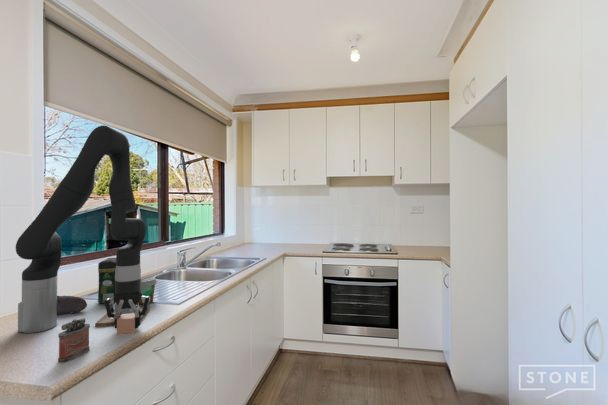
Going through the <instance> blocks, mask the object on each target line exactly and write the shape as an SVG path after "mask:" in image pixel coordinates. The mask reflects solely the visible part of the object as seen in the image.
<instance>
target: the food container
mask: <svg viewBox="0 0 608 405" xmlns="http://www.w3.org/2000/svg"><path fill="white" fill-rule="evenodd" d="M157 283H158V282H157V280H156V278H154V279H151V280H141V294H142V296H151V298H150V302H149V305H150V304H152V303H153V302H154V296H155V289H156V287H155V286H156V285H157ZM138 304H139V307H143V305H144V303H143V302H142V299H141V300H140V301H139V302H138Z"/></svg>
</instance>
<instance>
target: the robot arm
mask: <svg viewBox="0 0 608 405" xmlns="http://www.w3.org/2000/svg"><path fill="white" fill-rule="evenodd" d="M105 156H108V157H109V159H110V162H111V166H112V167H111V168H112V173H111V178H110V180H109V185H108V195H109V201H110V206H111V215H110V224H109V232H110V235H111V236H112V238H113V239H114V240H116V241H127V240H128V241H127V244H125V245H123V246H121V247H119V248H118V249H117V250H116V252H115V253H116V257H115V258H116V271H115V296H114V298H108V299H106V300H105V301H104V308H105V311H106V313H107V315H108V317H109V318H110V317H112V318H114V319H115V323H114V329H115V330H116V331H117V319H118V318H119V317H120V315H121V312H122V310H123V309H126V308H129V309H132V311H133V312H134V314H135V316H136V317H135V328H137V329H138V328H139V327H140V326H141V324H142V321H141V316H142V315H145V313H146V312H147V310H148V307H150V306H149V305H150V304H149V302H150V298H151V296H142V294H141V281H142V269H141V252H142V251H141V250H142V247H143V244H144V241H145V238H146V234H147V226H146V223H145V221H144V220H143V219H141V218H136V217H135V218H133V217H132V218H126V215H127V214H129V213H132V212H134V211H135V210H136V208H137V206H136V201H135V200H136V199H135V196H134V191H133V186H132V181H131V180H132V179H131V161H130V157H131V156H130V144H129V140H128V136H126V135H125V134H123V133H122V132H120V131H118V130H116V129H114V128H112V127H110V126H108V125H99V126H96V127H95V128H93V129H92V131H91V132H90V133H89V135H88V137H87V138H86V140H85V142H84V144H83V146H82V148H81V150H80V151H79V154H78V155H77V157H76V159H75V161H74V162H73V164H72V165H71V167H70V168H69V170H68V171H67V173H66V174H65V176H64V177H63V179H61V181H60V183H58V185H57V187H56V188H55V190H54V191H53V193H52V195H51V196H50V197H49V199H48V201H47V202H46V203H45V205H44V206H43V207H42V209H41V210H40V211H39V214H38V215H37V216H36V217H35V219H34V220H32V222H31V223H30V224H29V225H28V227H26V229H25V230H24V231H23V232H22V233H21V235H20V236H19V237H18V239H17V241H16V242H15V252H16V255H17V256H18V257H19V258H20V259H24V260H28V261H29V260H31V262H30V264H29V265H28V266H27V267H26V268H25V269H23V271H22V272H21V301H20V302H19V303H18V304H17V333H24V334H33V333H39V332H44V331H47V330H50V329H53V328H54V327H56V326H57V325H58V314H57V296H58V271H59V269H60V266H61V262H62V248H63V247H62V245H63V244H62V238H61V236H60V235H59V234H58V233H57V232H56V231H57V230H58V229H59V228H60V227H61V226H62V225H63V224H64V223H65V222H66V221H68V219H71V217H72V216H74V215H75V214H76V213H77V212H78V211H80V210H81V209H82V208H83V207H84V205H85V204H86V203H87V201H88V200H89V198H90V197H91V195H92V194H93V192H94V189H95V180H96V179H95V178H96V170H97V168H98V165H99V164H100V162H101V160H102V159H103V158H104V157H105ZM141 299H142V302H143V303H144V305H143V306H142V308H143V309H142V311H140V308H141V306H139V304H138V302H139V301H140V300H141ZM113 301H115V302H113ZM115 303H116V304H117V305H118V307H117V310H116V313H115V312H114V309H115V308H114V305H113V304H115Z"/></svg>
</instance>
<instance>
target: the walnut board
mask: <svg viewBox="0 0 608 405" xmlns="http://www.w3.org/2000/svg"><path fill="white" fill-rule="evenodd" d="M150 308H151V307H150V306H148V310H147V312H146V313H145V315H142V316H141V322H142V321H143V320H144V318H145V317H146V316H147V314H148V313H149V312H150V310H151V309H150ZM142 309H143V307H140V311H142ZM133 313H134V312H133ZM142 319H143V320H142ZM114 323H115V319H114V318H112V317H110V318H109V317H108V315H107V312H106V313H105V314H104V315H103V316H102V317H100V318H99V319H98V320H97V321H96V322H95V323H94V327H95V328H98V327H99V328H100V327H111V326H114Z"/></svg>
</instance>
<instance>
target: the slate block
mask: <svg viewBox="0 0 608 405" xmlns="http://www.w3.org/2000/svg"><path fill="white" fill-rule="evenodd" d="M117 307H118V305H117V304H116V303H115V302H114V308H113V309H114V312H115V313H116V310H117ZM131 313H133V311H132V309H129V308H126V309H123V310H122V312H121V315H122V314H131ZM121 315H120V316H121Z"/></svg>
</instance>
